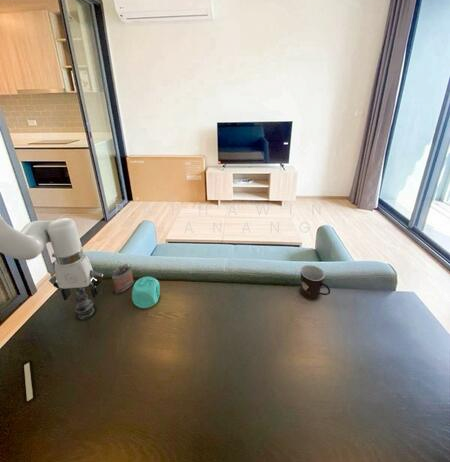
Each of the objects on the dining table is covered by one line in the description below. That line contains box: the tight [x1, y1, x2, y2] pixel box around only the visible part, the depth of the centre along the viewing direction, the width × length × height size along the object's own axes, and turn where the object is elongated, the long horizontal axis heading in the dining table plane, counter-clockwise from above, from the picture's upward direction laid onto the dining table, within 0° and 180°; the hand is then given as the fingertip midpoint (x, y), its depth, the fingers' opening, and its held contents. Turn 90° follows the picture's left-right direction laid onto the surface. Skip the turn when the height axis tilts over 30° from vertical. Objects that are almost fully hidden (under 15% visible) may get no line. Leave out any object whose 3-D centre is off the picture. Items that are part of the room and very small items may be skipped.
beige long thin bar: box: [23, 362, 34, 402], centre depth 67 cm, size 12×1×1 cm, turn 41°
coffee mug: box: [300, 264, 331, 300], centre depth 92 cm, size 12×9×10 cm
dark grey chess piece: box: [74, 287, 96, 320], centre depth 86 cm, size 6×6×12 cm
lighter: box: [111, 263, 135, 295], centre depth 98 cm, size 8×3×10 cm, turn 144°
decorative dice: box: [131, 276, 161, 309], centre depth 92 cm, size 8×8×8 cm
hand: (81, 296), depth 86 cm, fingers open, 9 cm apart
